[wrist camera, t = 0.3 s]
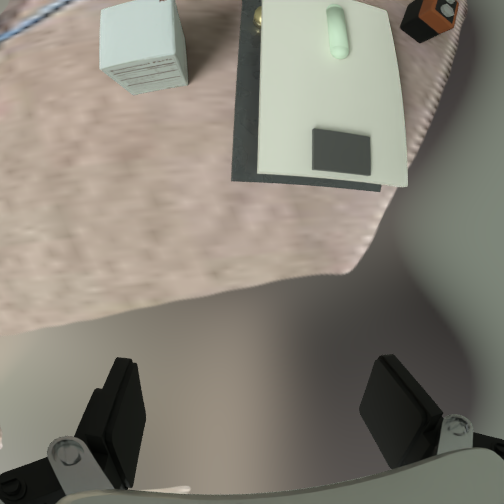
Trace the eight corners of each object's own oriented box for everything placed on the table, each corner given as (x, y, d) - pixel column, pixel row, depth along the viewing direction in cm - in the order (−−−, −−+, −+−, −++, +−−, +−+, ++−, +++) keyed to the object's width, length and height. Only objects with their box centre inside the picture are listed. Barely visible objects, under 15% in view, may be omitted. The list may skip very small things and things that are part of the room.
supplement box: (130, 47, 31) (99, 7, 19) (186, 37, 32) (175, -10, 20) (132, 97, 33) (96, 70, 21) (189, 87, 34) (177, 53, 22)
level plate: (260, -6, 28) (266, -27, 23) (378, 19, 30) (393, 3, 25) (255, 175, 30) (262, 167, 26) (396, 188, 32) (418, 184, 27)
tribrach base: (242, -1, 31) (246, -21, 26) (378, 25, 33) (395, 12, 28) (231, 180, 38) (233, 183, 32) (376, 191, 40) (397, 195, 35)
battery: (398, 28, 33) (434, 6, 24) (407, 4, 32) (441, -19, 23) (419, 44, 34) (458, 27, 25) (427, 19, 33) (463, 1, 23)
